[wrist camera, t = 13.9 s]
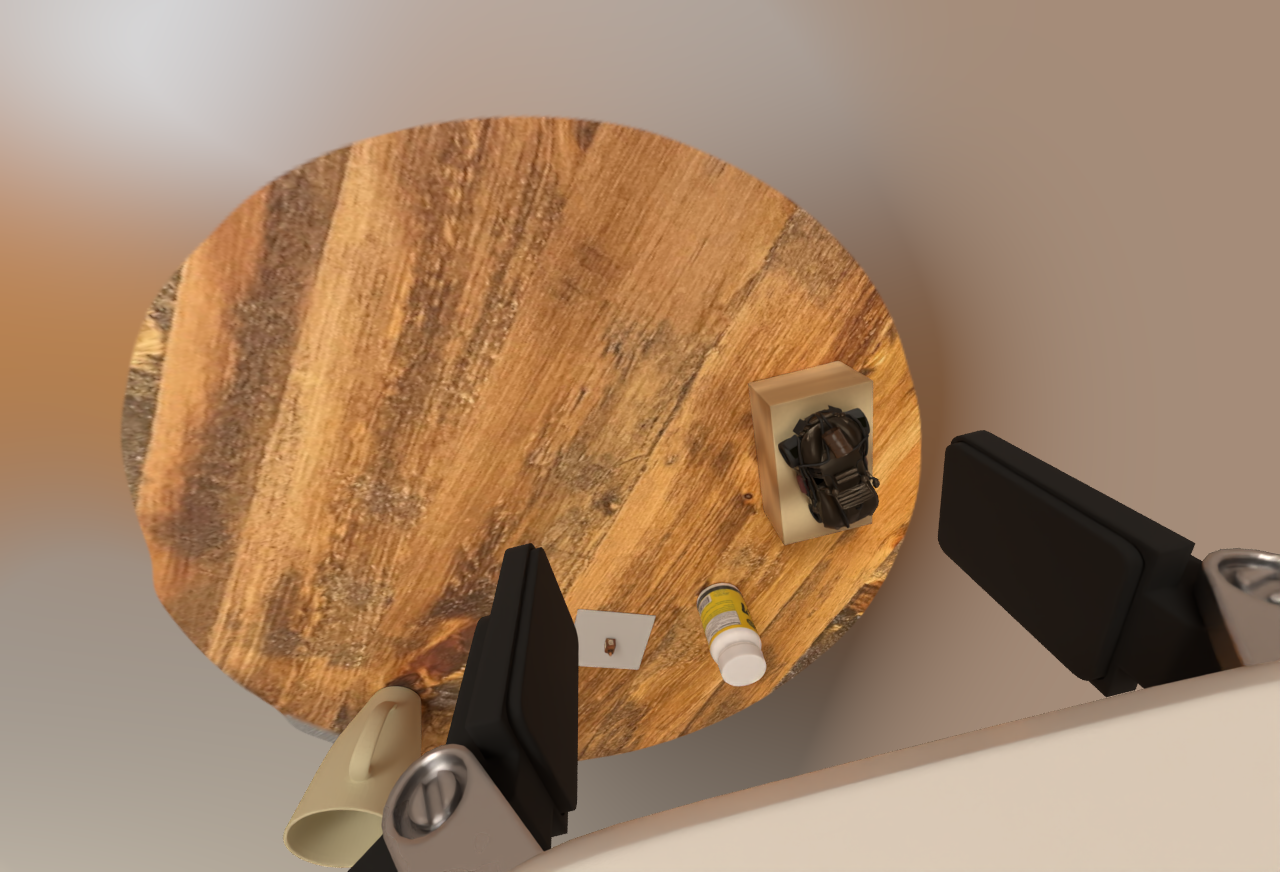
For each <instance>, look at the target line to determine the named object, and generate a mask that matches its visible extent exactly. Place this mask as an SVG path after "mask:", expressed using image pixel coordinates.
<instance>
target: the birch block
mask: <svg viewBox="0 0 1280 872" xmlns="http://www.w3.org/2000/svg"><path fill="white" fill-rule="evenodd" d="M748 387H749V395H750V403H751V411H752V419H753V428H754V436H755V444H756V452H757V460H758V468H759V476H760V484H761V493H762V501H763V509H764V512H765V514H766V516H767V517H768V519H769V521H770V522H771V524H772V526H773V527H774V529H775V531H776V532H777V534H778V535H779V537H780V539H781V540H782V542H783V544H784V545H788V544H792V543H796V542H800V541H804V540H808V539H812V538H816V537H820V536H824V535H828V534H832V533H836V532H840V531H844V530H848V529H852V528H856V527H860V526H864V525H868V524H872V516H869V515H868V516H867V517H866V518H863V519H861V520H859V521H857V522H855V523H853V524H850V527H849V528H846V526H845V527H842V528H840V529H839V530H835V529H830V528H829V529H828V528H825V527H824V524H823V523H818V522H817V521H816V520H815V519H814V518H813V516H812V514H811V513H810V510H809V506H808V505H809V504H810V502H809V498H808V496H807V495H806V494H804V493H802V492H801V491H800V488H799V485H798V482H797V481H796V475H797V473H796V471H795V470H794V469H793V468H791V467H790V466H789V465H788V464H787V463H786V462H785V460H784V459H783V457H782V455H781V453H780V451H779V449H778V444H779V443H780V442H782V441H784V440H786V439H788V438H791V437H792V436H793V435H794V434H795V435H796V436H797V437H798V436H799V435H797V434H796V433H794V432H793V429H794V428H795V426H796V424H797V423H798V421H799V419H802V420H805V418H806V417H808V416H810V415H811V414H813V413H814V414H816V413H815V412H818V411H821V410H824V409H826V410H827V409H829V407H828V405H829V406H833V407H836V408H840V409H841V410H842V412H846V411H849V410H852V409H855V408H859V409H861V410H862V412H863V413H864V414H865V416H866V417H867V420H868V422H869V426H870V433H869V434H868V435H869V437H868V441H869V449H868V454H867V456H866V457H867V460H868V472H870V474H871V475H870V477H872V470H873V380H871V379H870V378H868V377H866V376H864V375H863V374H861V373H859V372H857V371H856V370H854V369H852V368H850V367H849V366H847V365H845V364H844V363H842V362H840V361H836V362H832V363H828V364H824V365H820V366H816V367H812V368H808V369H804V370H800V371H796V372H792V373H788V374H784V375H780V376H776V377H772V378H768V379H764V380H760V381H756V382H752V383H748ZM839 416H840V415H838V417H839ZM804 430H805V429H804ZM806 432H807V431H806V430H805V433H806ZM795 469H797V470H799V468H798V466H797V467H795ZM866 472H867V471H866ZM869 481H870V483H871V484H872V479H871V480H869ZM809 492H810V491H809Z"/></svg>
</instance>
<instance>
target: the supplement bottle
mask: <svg viewBox="0 0 1280 872" xmlns="http://www.w3.org/2000/svg"><path fill="white" fill-rule="evenodd" d="M697 609H698V612H699V615H700V619H701V622H702V625H703V629H704V632H705V635H706V639H707V643H708V646H709V650H710V653H711V656H712V658H713V659H714V661H715V662H716V663H717V664H718V667H719V669H720V672H721V675H722V678H723V680H724V681H725V682H726V683H728V684H730V685H733V686H745V685H749V684H752V683H754V682H756V681H758V680H759V679H760V678H761V677H762V676H763V675H764V673H765V671H766V662H765V659H764V657H763V653H762V651H761V640H760V637H759V634H758V632H757V630H756V627H755V625H754V623H753V620H752V618H751V616H750V613H749V611H748V608H747V606H746V604H745V601H744V599H743V597H742V594H741V592H740V591H739V590H738V588H736V587H735V586H734V585H732V584H728V583H718V584H714V585H711V586H709V587H707V588H706V589H704V590H703V591H702V592H701V593H700V595H699V597H698V599H697Z"/></svg>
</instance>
